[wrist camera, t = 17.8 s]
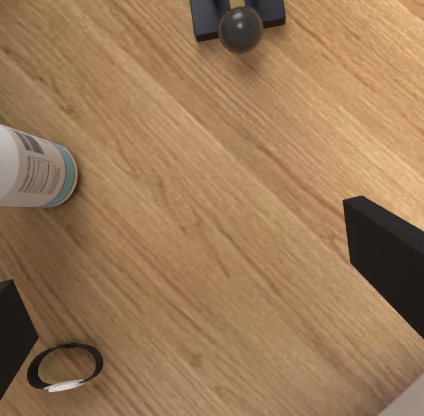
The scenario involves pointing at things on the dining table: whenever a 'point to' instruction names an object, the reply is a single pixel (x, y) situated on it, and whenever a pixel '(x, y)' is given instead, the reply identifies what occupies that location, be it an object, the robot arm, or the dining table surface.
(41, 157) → the beverage can
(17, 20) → the dining table surface
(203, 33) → the switch bracket
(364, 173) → the dining table surface
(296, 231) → the dining table surface
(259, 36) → the lamp switch
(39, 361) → the watch
